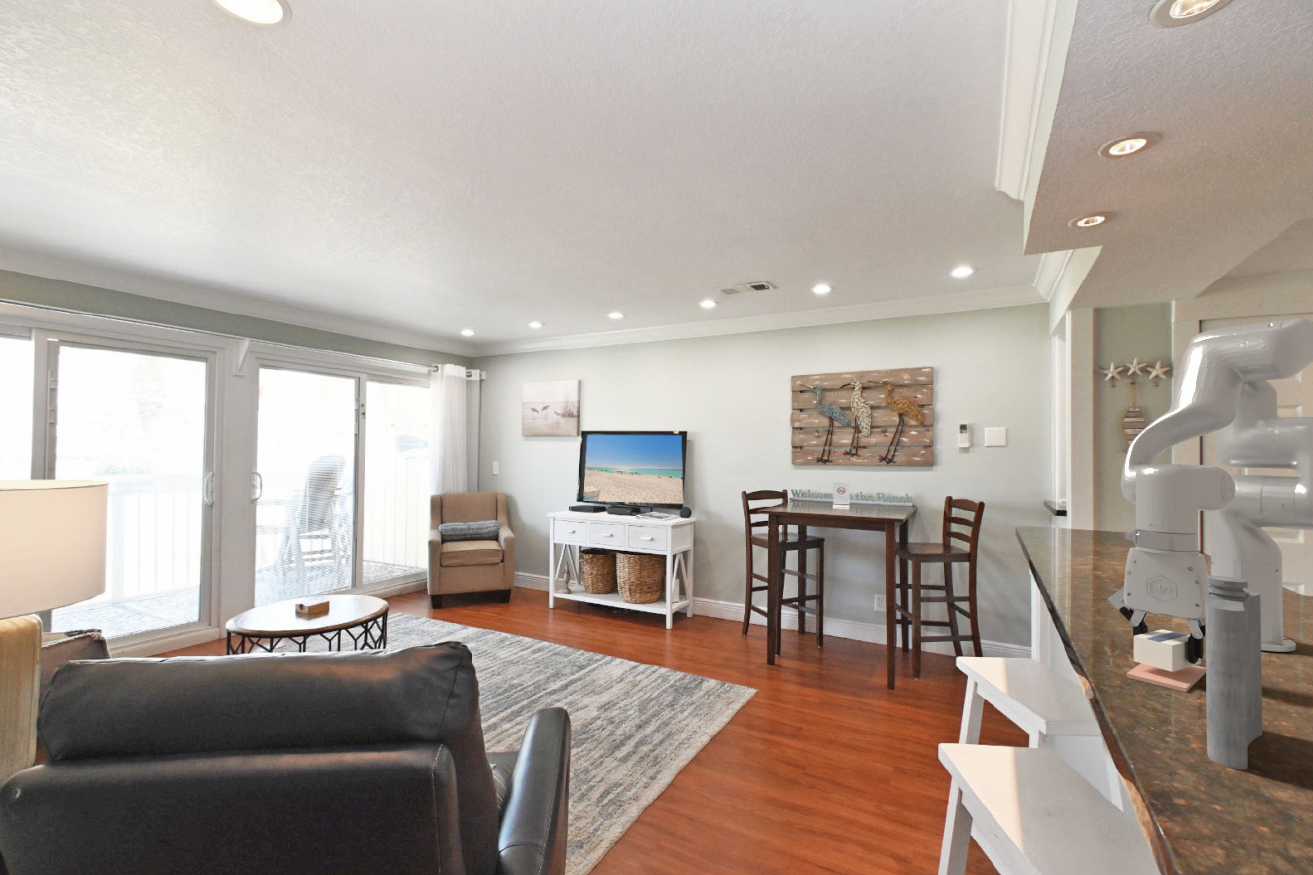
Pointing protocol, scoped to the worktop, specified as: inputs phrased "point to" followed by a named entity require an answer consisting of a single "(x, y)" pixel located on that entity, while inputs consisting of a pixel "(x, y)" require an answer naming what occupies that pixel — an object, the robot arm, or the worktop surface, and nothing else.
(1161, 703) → the worktop surface
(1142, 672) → the mat
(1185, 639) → the card box
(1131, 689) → the worktop surface
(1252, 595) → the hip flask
